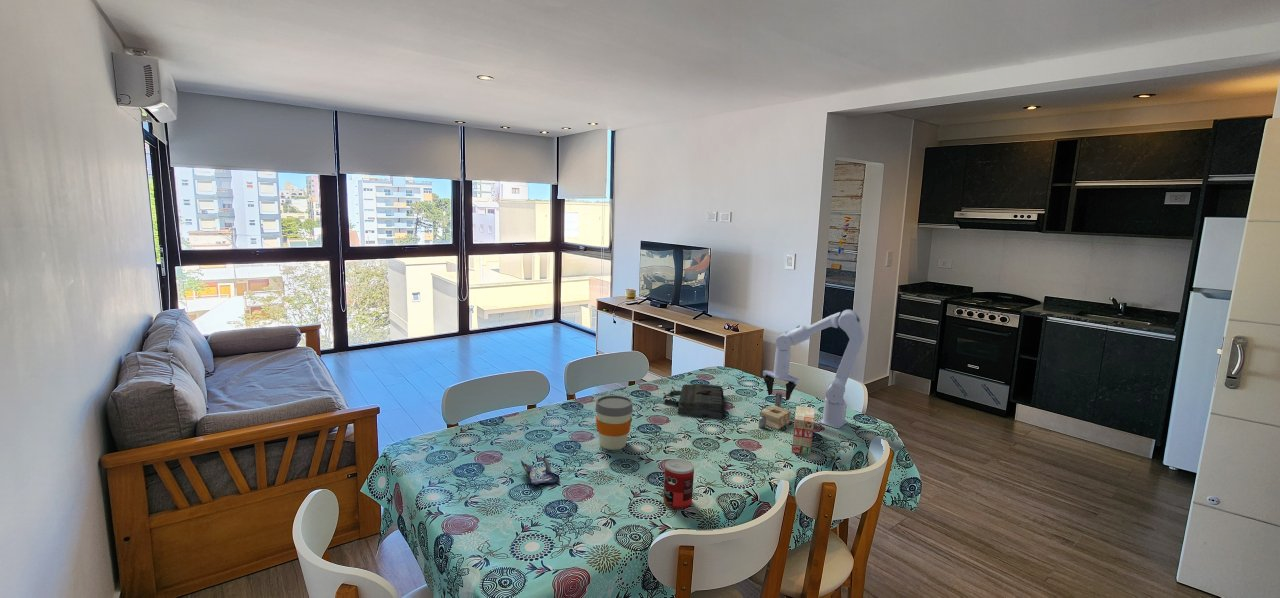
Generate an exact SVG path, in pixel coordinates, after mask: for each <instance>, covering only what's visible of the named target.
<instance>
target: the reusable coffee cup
mask: <svg viewBox="0 0 1280 598" xmlns="http://www.w3.org/2000/svg"><path fill="white" fill-rule="evenodd" d="M596 399H597V400H596V402H595V408H594V410H595V412H596V416H595V423H596V431H597V432H598V441H599V445H600V447H601V448H603V449H605V450H612V451H613V450H614V451H615V450H621V449H624V448H625V447H626V446H627V441H628V435H629V433H630V430H631V426H632V419H633V418H632V417H633V416H632V413H633V411H634V410H633V409H634V408H633V400H632V399H631V398H629V397H627V396H623V395H615V394H614V395H612V394H611V395H605V396H600V397H598V398H596Z"/></svg>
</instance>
